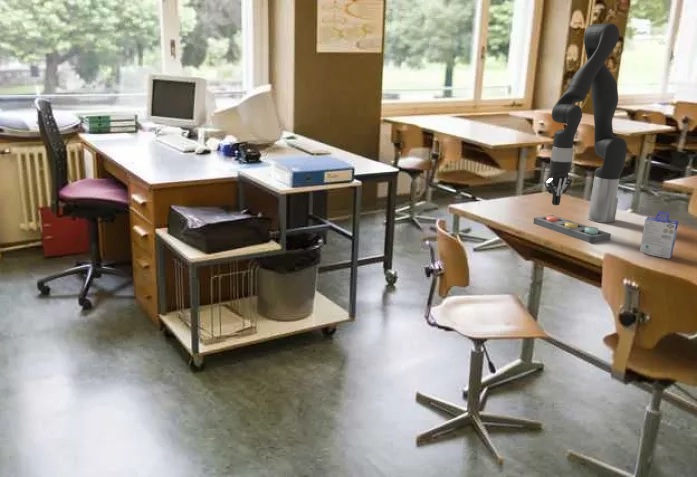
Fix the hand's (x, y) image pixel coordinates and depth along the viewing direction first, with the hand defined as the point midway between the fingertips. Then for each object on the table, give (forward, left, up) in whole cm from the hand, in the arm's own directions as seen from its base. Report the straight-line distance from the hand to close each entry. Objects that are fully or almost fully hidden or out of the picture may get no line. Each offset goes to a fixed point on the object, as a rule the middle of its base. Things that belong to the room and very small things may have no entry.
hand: (555, 204), depth 257 cm
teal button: (-9, +15, -7) cm, 19 cm away
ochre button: (-4, +7, -7) cm, 11 cm away
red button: (0, 0, -7) cm, 8 cm away
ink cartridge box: (-27, +28, -9) cm, 40 cm away
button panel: (-4, +7, -9) cm, 12 cm away
